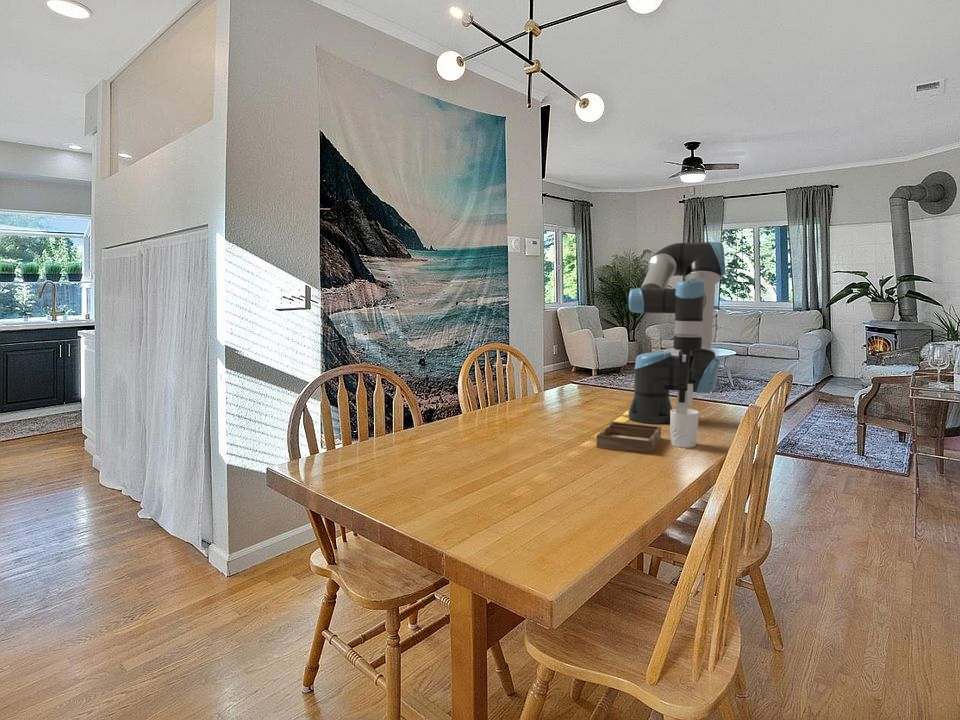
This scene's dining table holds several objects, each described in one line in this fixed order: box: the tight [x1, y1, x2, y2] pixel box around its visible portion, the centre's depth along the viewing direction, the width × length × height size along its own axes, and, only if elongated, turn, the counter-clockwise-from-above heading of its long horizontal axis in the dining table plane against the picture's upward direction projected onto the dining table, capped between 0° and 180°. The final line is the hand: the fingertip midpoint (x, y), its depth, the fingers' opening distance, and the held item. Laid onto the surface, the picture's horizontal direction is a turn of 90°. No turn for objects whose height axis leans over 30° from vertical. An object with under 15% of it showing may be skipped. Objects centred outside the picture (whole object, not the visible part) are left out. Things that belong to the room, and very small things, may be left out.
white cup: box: [669, 407, 700, 449], centre depth 164 cm, size 8×8×10 cm
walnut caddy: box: [596, 421, 662, 455], centre depth 167 cm, size 18×15×4 cm
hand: (684, 409), depth 163 cm, fingers open, 13 cm apart
